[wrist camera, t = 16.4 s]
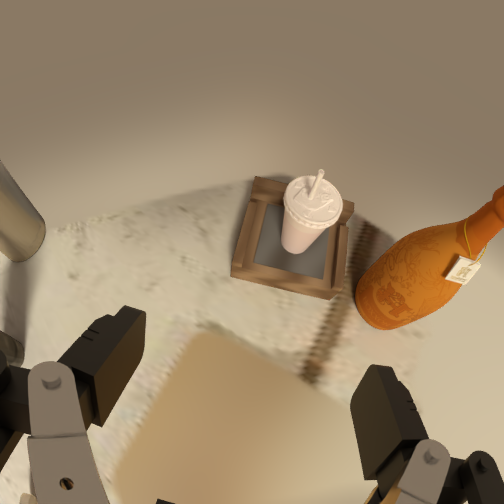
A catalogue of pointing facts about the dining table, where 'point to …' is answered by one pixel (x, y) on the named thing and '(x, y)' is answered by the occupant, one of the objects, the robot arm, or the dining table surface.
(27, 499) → the spread jar
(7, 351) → the beverage cup
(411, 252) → the wine bottle
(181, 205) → the dining table surface
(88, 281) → the dining table surface
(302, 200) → the smoothie
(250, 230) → the brown wooden tray
